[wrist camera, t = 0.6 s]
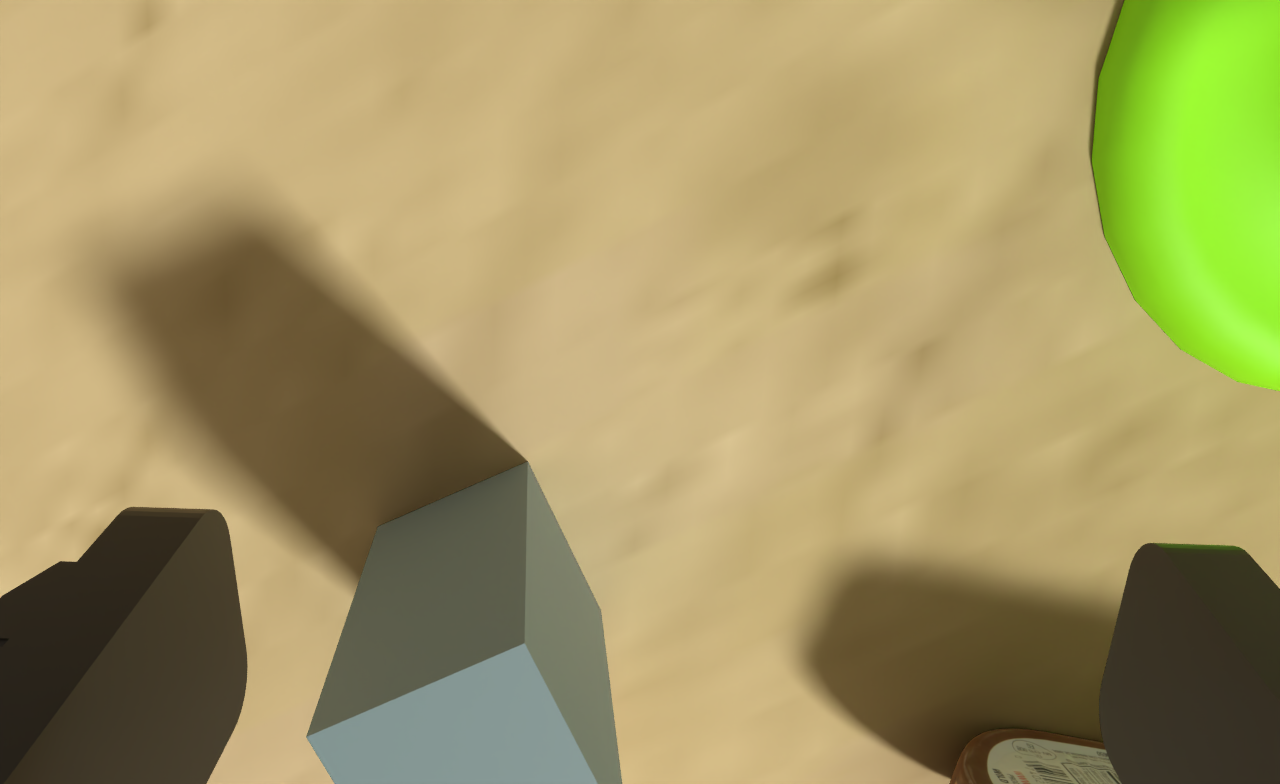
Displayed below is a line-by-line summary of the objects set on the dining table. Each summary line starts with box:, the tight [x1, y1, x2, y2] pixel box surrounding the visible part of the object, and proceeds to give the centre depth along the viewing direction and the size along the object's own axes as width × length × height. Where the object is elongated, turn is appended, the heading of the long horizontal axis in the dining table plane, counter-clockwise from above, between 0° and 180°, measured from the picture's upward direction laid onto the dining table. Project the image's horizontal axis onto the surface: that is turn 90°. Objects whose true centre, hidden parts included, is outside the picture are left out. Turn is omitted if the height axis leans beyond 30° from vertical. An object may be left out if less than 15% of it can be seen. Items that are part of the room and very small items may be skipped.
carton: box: [306, 462, 622, 784], centre depth 26 cm, size 5×4×10 cm
